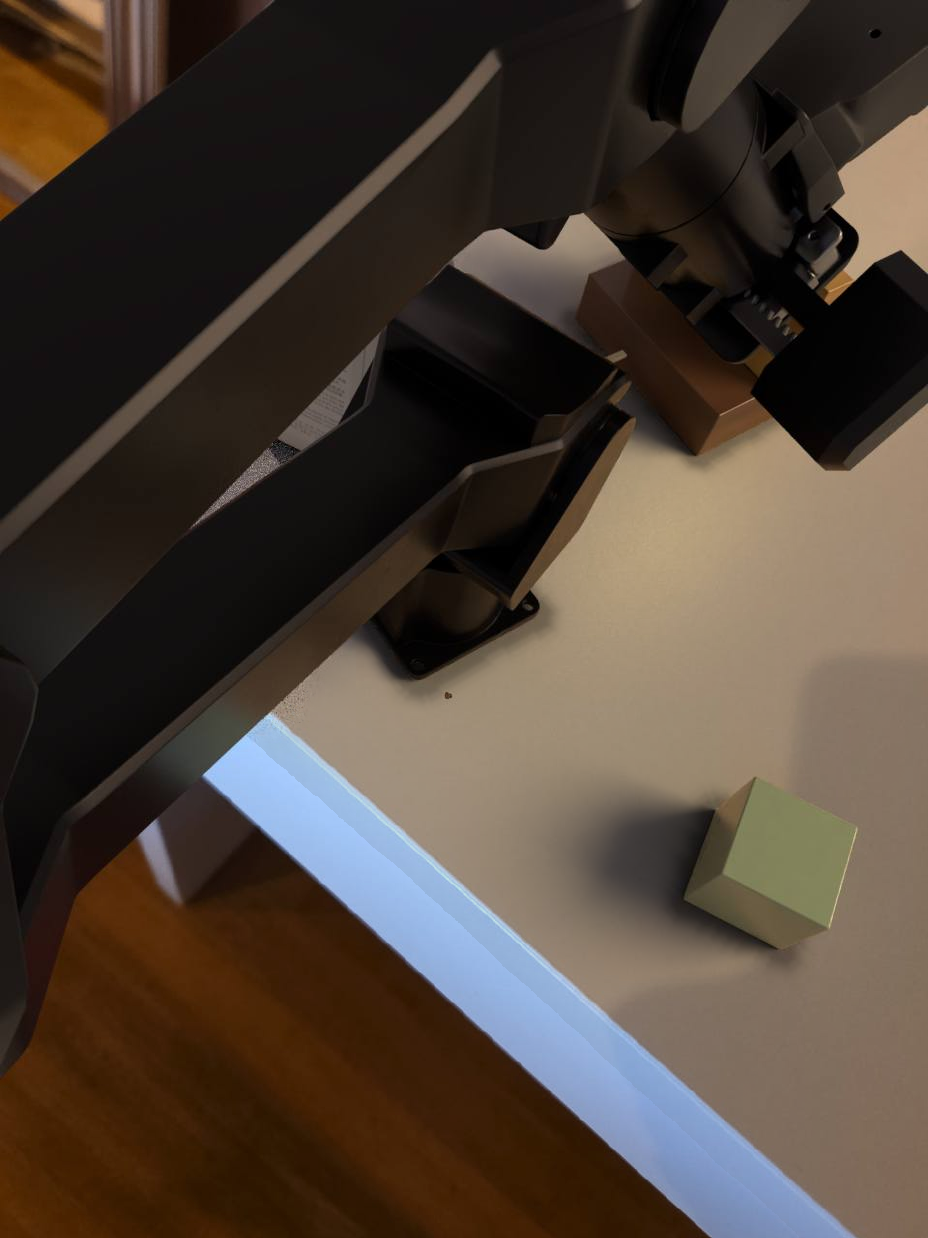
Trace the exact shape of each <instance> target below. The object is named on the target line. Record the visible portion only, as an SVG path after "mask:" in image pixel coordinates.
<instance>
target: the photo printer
mask: <svg viewBox="0 0 928 1238" xmlns="http://www.w3.org/2000/svg"><path fill="white" fill-rule="evenodd" d="M448 264H450V265H452V266H454V267H455V268H456V265H455V261H454V258H452V259H451V260H450V261H449V262H448V263H447V264H446V265H445V266H444V267H443V268H442V269H441V270H440V271H439V272H438V273H437V274H436V275H435V276H434V277H433V278H432V279H431V280H430V281H429V283H430V282H431V281H432V280H433V279H434V278H435V277H436V276H437V275H438V274H439V273H440V272H441V271H442V270H443V269H444V268H445V267H446V266H447V265H448ZM429 283H428V284H429ZM380 333H381V332H380ZM380 333H379V334H378V335H377V336H376V337H375V338H374V339H373V340H372V341H371V342H370V343H369V344H368V345H367V346H366V347H365V348H364V350H363V351H362V352H361V353H360V354H359V355H358V356H357V357H356V358H355V359H354V360H353V361H352V362H351V363H350V364H349V365H348V366H347V367H346V368H345V369H344V370H343V371H342V372H341V373H340V374H339V375H338V376H337V377H336V378H335V379H334V380H333V381H332V382H331V384H330V385H329V386H328V387H327V388H326V389H325V390H324V391H323V392H322V393H321V394H320V395H319V396H318V397H317V398H316V399H315V400H314V401H313V402H312V403H311V404H310V405H309V406H308V407H307V408H306V409H305V410H304V411H303V412H302V413H301V414H300V415H299V417H298V418H297V419H296V420H295V421H294V422H293V423H292V424H291V425H290V426H289V427H288V428H287V429H286V430H285V431H284V432H283V433H282V434H281V435H280V436H279V437H278V438H277V439H276V440H279V441H280V442H283V443H284V444H287V445H288V446H291V447H293V448H294V449H297V450H299V451H302V450H303V449H304V448H306V447H307V446H309V445H310V444H312V443H313V442H314V441H316V440H317V439H319V438H320V437H321V436H323V435H324V434H326V433H327V432H329V431H330V430H331V429H333V428H334V427H336V426H337V425H338V424H339V422H340V420H341V418H342V416H343V414H344V412H345V411H346V409H347V407H348V405H349V403H350V401H351V399H352V398H353V396H354V394H355V392H356V390H357V388H358V386H359V385H360V383H361V381H362V379H363V377H364V375H365V373H366V372H367V370H368V368H369V366H370V364H371V362H372V360H373V359H374V356H375V352H376V348H377V344H378V339H379V335H380Z"/></svg>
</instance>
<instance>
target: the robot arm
mask: <svg viewBox="0 0 928 1238" xmlns="http://www.w3.org/2000/svg"><path fill="white" fill-rule="evenodd" d="M927 107H928V0H271V1H270V2H269V3H268V4H267V5H266V6H265V7H264V8H263V9H262V10H261V11H259V12H258V13H257V14H256V15H254V16H253V17H252V18H251V19H250V20H248V21H247V22H246V23H244V24H243V25H242V26H241V27H240V28H239V29H237V30H236V31H235V32H233V33H232V34H230V36H228V37H227V38H226V39H225V40H224V41H222V42H221V43H219V44H218V45H217V46H216V47H214V48H213V49H212V50H211V51H210V52H208V53H207V54H206V55H205V56H204V57H202V58H201V59H200V60H198V62H196V63H195V64H193V65H192V66H191V67H190V68H188V69H187V70H186V71H184V72H183V73H182V74H181V75H180V76H178V77H177V78H176V79H175V80H173V81H172V82H171V83H169V84H168V85H167V86H166V87H164V89H162V90H161V91H160V92H158V93H157V94H155V96H153V97H152V98H151V99H150V100H149V101H147V102H146V103H145V104H144V105H142V106H141V107H140V108H139V109H137V110H136V111H134V113H132V114H131V115H130V116H129V117H127V118H126V119H125V120H123V121H122V122H121V123H120V124H118V126H116V127H115V128H114V129H112V130H111V131H110V132H109V133H107V134H106V135H105V136H104V137H102V138H101V139H100V140H99V141H97V142H96V143H95V144H94V145H92V146H91V147H90V148H88V149H87V150H86V151H85V152H84V153H82V154H81V155H80V156H79V157H77V158H76V159H75V160H74V161H72V162H71V163H70V164H69V165H67V166H66V167H65V168H64V169H62V170H61V171H60V172H59V173H58V174H57V175H55V176H54V177H52V178H51V179H50V180H48V182H46V183H45V184H44V185H43V186H41V187H40V188H39V189H37V190H36V191H35V192H34V193H32V194H31V195H30V196H29V197H28V198H26V199H25V200H24V201H23V202H21V203H20V204H19V205H17V206H16V207H15V208H14V209H13V210H11V211H10V212H9V213H8V214H6V215H5V216H4V217H2V218H1V219H0V1080H1V1079H2V1078H3V1077H4V1076H5V1075H6V1074H7V1072H8V1071H10V1069H12V1067H13V1066H14V1065H15V1064H16V1063H17V1061H18V1060H20V1058H21V1057H22V1056H23V1054H24V1053H25V1052H26V1051H27V1049H28V1048H29V1046H30V1044H31V1041H32V1039H33V1037H34V1034H35V1030H36V1028H37V1024H38V1020H39V1018H40V1015H41V1012H42V1007H43V1004H44V1001H45V998H46V994H47V991H48V988H49V985H50V983H51V979H52V975H53V972H54V969H55V965H56V962H57V958H58V956H59V952H60V949H61V946H62V941H63V939H64V936H65V932H66V929H67V926H68V923H69V919H70V916H71V913H72V909H73V906H74V903H75V900H76V899H77V896H78V895H79V894H80V892H81V891H82V890H84V889H85V887H86V886H87V885H88V884H89V883H90V882H91V881H93V879H94V878H95V877H96V876H97V875H98V874H99V873H100V872H102V870H103V869H104V868H106V867H107V866H108V865H109V863H111V862H112V861H113V860H114V859H115V858H116V857H117V856H119V854H120V853H122V851H124V849H126V848H127V847H128V846H129V845H130V844H131V843H132V842H133V841H134V840H135V839H136V838H138V836H140V835H141V834H142V833H143V832H144V831H145V830H146V829H147V828H148V827H149V826H150V825H151V824H152V823H153V822H154V821H156V819H158V818H159V817H160V816H161V815H162V814H163V813H164V812H165V811H167V809H169V808H170V807H171V805H173V804H174V803H175V802H176V801H177V800H178V799H179V798H180V797H181V796H182V795H183V794H184V793H186V791H188V790H189V788H191V787H192V786H193V785H194V784H195V783H196V782H197V781H198V780H200V779H201V778H202V776H204V775H205V774H206V773H207V772H208V771H209V770H210V769H211V768H212V767H213V766H214V765H215V764H216V763H217V762H218V761H220V760H221V759H222V758H223V757H224V756H225V755H226V754H228V753H229V751H230V750H231V749H232V748H233V747H235V746H236V744H238V743H239V742H240V741H241V740H242V739H244V737H245V736H246V735H248V733H250V731H252V730H253V729H254V728H255V727H256V726H258V724H259V723H260V722H261V721H262V720H264V719H265V718H266V717H267V716H268V715H269V714H270V713H271V712H272V711H273V710H274V709H275V708H276V707H277V706H278V705H280V703H281V702H283V701H284V700H285V699H286V698H288V696H289V695H290V694H292V693H293V691H295V689H296V688H297V687H299V686H300V685H301V684H302V683H303V682H305V680H306V679H307V678H308V677H310V675H312V674H313V672H314V671H316V669H318V668H319V667H320V666H321V665H322V664H323V663H324V662H325V661H327V660H328V659H329V657H331V656H332V655H333V654H334V653H335V652H336V651H337V650H339V648H340V647H341V646H342V645H344V643H346V642H347V641H348V640H349V639H350V638H351V637H352V636H353V635H354V634H356V633H357V631H358V630H359V629H360V628H361V627H362V626H364V625H365V624H366V623H367V622H368V621H370V622H371V623H372V624H373V626H374V628H375V629H376V631H377V632H378V634H379V635H380V636H381V638H382V639H383V641H384V642H385V644H386V646H387V647H388V649H389V650H390V651H391V653H392V655H394V658H396V660H397V661H398V663H399V665H400V666H401V667H402V669H403V671H404V672H405V673H406V675H407V676H408V677H409V678H410V679H412V680H416V681H422V680H424V679H426V678H427V677H430V676H432V675H434V674H435V673H437V672H439V671H441V670H442V669H444V668H446V667H449V666H450V665H452V664H454V663H455V662H457V661H459V660H461V659H463V658H464V657H466V656H468V655H470V654H471V653H474V652H475V651H477V650H479V649H481V648H483V647H484V646H486V645H488V644H490V643H492V642H494V641H496V640H497V639H499V638H501V637H503V636H505V635H506V634H508V633H510V632H512V631H514V630H515V629H517V628H519V627H521V626H522V625H524V624H526V623H529V621H532V620H533V619H535V618H536V617H537V615H538V614H539V612H540V609H541V604H540V601H539V599H538V598H537V596H536V595H535V594H534V593H533V591H532V590H531V589H532V588H533V587H534V586H535V584H536V583H537V582H538V581H539V579H540V578H541V577H542V576H543V575H544V574H545V572H546V571H547V570H548V568H549V567H550V566H551V565H552V564H553V562H554V561H556V559H557V558H558V556H559V555H560V554H561V553H562V552H563V550H564V549H565V548H566V547H567V546H568V544H569V543H570V542H571V541H572V539H574V537H575V536H576V535H577V534H578V532H579V531H580V529H581V528H582V526H583V524H584V522H585V520H586V519H587V517H588V515H589V513H590V511H591V509H592V507H593V505H594V504H595V503H596V500H597V498H598V497H599V495H600V493H601V491H602V489H603V487H604V486H605V484H606V482H607V480H608V478H609V477H610V475H611V473H612V471H613V469H614V468H615V466H616V464H617V462H618V460H619V458H620V456H621V454H622V452H623V451H624V449H625V447H626V446H627V444H628V442H629V439H630V438H631V436H632V434H633V431H634V429H635V425H636V423H637V417H635V416H634V415H632V414H630V413H629V412H627V411H626V410H624V409H622V408H620V407H618V406H616V404H617V403H619V401H621V399H622V398H624V396H625V395H626V393H627V392H628V390H629V388H630V387H631V385H632V384H633V383H632V380H631V375H630V373H629V372H628V371H626V370H625V369H623V368H621V367H620V366H618V365H617V364H615V363H613V362H612V361H610V360H608V359H607V358H605V357H606V356H604V355H602V354H601V353H599V352H597V351H595V349H592V348H591V347H589V346H587V345H586V344H585V343H582V342H581V341H579V340H578V339H577V338H574V336H572V335H570V334H568V333H567V332H565V331H563V330H562V329H560V328H559V327H557V326H555V325H554V324H552V323H550V322H549V321H547V320H546V319H544V318H543V317H541V316H540V315H538V314H536V313H534V312H533V311H531V310H529V309H528V308H527V307H524V306H523V305H521V304H519V303H518V302H517V301H515V300H513V299H511V298H510V297H509V296H507V295H505V294H504V293H502V292H500V291H499V290H498V289H496V288H494V287H492V286H490V285H489V284H487V283H486V282H484V281H483V280H481V279H480V278H478V277H476V276H474V275H473V274H472V273H469V272H464V271H462V270H461V269H458V268H457V267H456V266H455V265H454V266H455V267H454V266H452V265H450V264H448V265H447V266H446V267H445V268H444V269H443V270H442V271H441V272H440V273H439V274H438V275H437V276H436V277H435V278H434V279H433V280H432V281H431V282H430V283H429V281H430V280H431V279H432V278H433V277H434V276H435V275H436V274H437V273H438V272H439V271H440V270H441V269H442V268H443V267H444V266H445V265H446V264H447V263H448V262H449V261H450V260H451V259H452V258H453V259H454V258H455V257H456V256H457V255H458V254H460V253H461V252H462V251H464V250H465V249H466V248H467V247H469V245H471V244H472V243H473V242H474V241H475V240H477V239H478V238H479V237H481V236H482V235H483V234H484V233H487V232H489V231H496V230H500V229H501V230H503V231H506V232H507V233H509V234H510V235H513V236H514V237H516V238H518V239H519V240H521V241H523V242H524V243H526V244H528V245H529V246H531V247H533V248H535V249H537V250H540V251H546V250H548V249H549V248H551V247H552V246H553V245H554V244H555V242H556V241H557V240H558V237H559V236H560V234H561V232H562V231H563V229H564V227H565V226H566V224H567V222H568V220H569V219H570V217H571V216H577V215H581V214H584V215H585V216H586V217H587V218H588V220H590V222H592V223H593V224H594V226H595V227H597V229H599V231H600V232H601V233H603V234H604V236H605V237H606V238H607V239H608V240H609V241H610V242H611V243H612V244H613V245H614V247H616V248H617V250H618V252H619V253H620V254H621V255H622V256H623V257H624V259H627V260H628V262H629V263H630V264H631V265H632V266H633V267H634V268H635V269H636V270H637V271H638V272H639V273H640V274H641V275H642V276H643V277H644V278H645V279H646V280H647V281H648V282H649V283H650V284H651V285H652V287H653V288H654V289H655V290H656V291H658V292H661V293H664V294H665V296H666V297H667V298H668V299H669V300H670V301H671V302H672V303H673V304H674V305H675V306H676V307H677V308H678V309H679V310H680V311H681V312H682V313H683V314H684V317H683V319H684V320H685V321H686V322H687V323H688V324H689V325H690V326H691V327H692V328H693V329H694V330H695V331H696V332H697V333H698V334H699V336H700V337H701V338H702V339H703V340H704V341H705V342H706V343H707V344H708V345H709V346H710V347H711V348H712V349H713V350H714V351H715V352H716V353H717V354H718V355H719V356H720V357H721V358H722V359H723V360H724V361H726V362H728V363H732V364H741V363H744V362H746V361H748V360H750V359H751V358H752V357H753V356H754V355H755V354H756V353H757V352H758V351H759V350H760V349H761V348H762V347H764V348H765V349H766V350H767V351H768V352H769V353H770V354H771V355H772V356H773V357H774V358H773V359H772V360H771V361H770V362H769V363H768V364H767V365H766V366H765V367H764V369H763V370H762V372H761V374H760V376H759V377H758V379H757V381H756V383H755V384H754V386H753V388H752V390H751V391H750V394H751V395H752V396H753V397H754V398H755V399H756V400H757V401H758V402H759V403H760V404H761V405H762V406H763V407H764V408H765V409H766V411H767V412H768V413H769V414H770V415H771V416H772V418H773V419H774V420H775V422H777V423H778V424H779V425H780V426H781V428H783V429H784V430H785V432H786V433H787V434H788V435H789V436H790V437H791V438H792V439H793V440H794V441H795V442H796V443H797V444H798V446H800V447H801V449H803V450H804V451H805V452H806V453H807V455H808V456H809V457H810V458H811V459H812V460H813V461H814V462H815V463H816V464H817V465H819V466H820V467H821V468H822V469H823V470H824V471H826V472H845V471H846V472H851V471H852V470H853V469H854V468H855V467H856V466H857V465H858V464H860V462H862V461H863V460H865V458H867V456H868V455H870V454H871V453H872V452H874V451H875V450H876V449H877V448H878V447H879V446H880V445H882V443H884V442H885V441H886V440H887V439H888V438H890V437H891V436H892V435H893V434H894V433H896V431H898V430H899V429H900V428H901V427H902V426H903V425H905V424H906V423H907V422H908V421H909V420H910V419H911V418H913V417H914V416H916V414H917V413H919V412H920V411H921V410H922V409H924V407H926V405H928V272H926V271H925V270H924V269H923V268H922V267H921V266H920V265H919V264H917V262H916V261H914V259H912V257H910V256H909V255H908V254H906V253H905V252H904V251H903V250H902V249H899V250H897V251H895V252H893V253H891V254H890V255H887V256H885V257H883V258H880V259H879V260H876V261H874V262H873V263H871V265H870V266H869V267H868V268H867V269H866V270H865V271H863V272H862V274H860V275H859V276H858V277H857V278H856V279H855V280H854V282H853V283H852V284H851V285H850V286H849V287H848V288H847V289H846V290H845V291H844V292H843V293H842V294H841V295H839V296H838V297H837V298H836V299H835V300H834V301H833V302H832V303H831V304H830V305H829V304H828V303H827V302H825V301H824V300H823V299H822V298H821V297H820V296H819V295H818V293H819V292H821V291H822V290H823V289H824V288H825V287H826V286H827V285H828V284H829V283H830V282H831V281H832V280H833V279H834V278H835V277H836V276H837V275H838V274H839V273H840V272H841V271H842V270H844V269H846V267H847V266H848V265H849V264H850V263H851V261H852V258H853V257H854V255H855V254H856V252H857V250H858V248H859V245H860V236H859V232H858V231H857V229H856V228H855V227H854V226H853V225H852V224H851V223H849V221H847V220H846V219H845V218H844V217H843V216H842V215H841V214H840V213H839V212H837V210H835V209H834V208H833V206H834V205H836V203H838V201H839V200H840V199H841V198H842V197H843V196H844V195H845V194H846V192H845V188H844V186H843V183H842V181H841V177H840V175H839V172H840V171H841V170H842V169H844V168H845V166H846V165H847V164H848V163H851V162H852V161H854V160H855V159H856V158H858V157H860V156H861V155H862V154H863V153H864V152H866V151H867V150H869V149H870V148H871V147H872V146H874V145H875V144H876V143H877V142H879V141H880V140H881V139H883V138H884V137H885V136H887V135H888V134H890V133H891V132H892V131H893V130H895V129H896V128H897V127H898V126H900V125H901V124H902V123H903V122H905V121H906V120H908V119H909V118H910V117H912V116H917V115H919V114H920V113H921V112H922V111H924V110H925V109H926V108H927ZM428 283H429V284H428ZM791 319H792V320H793V321H794V322H795V323H796V324H798V325H799V326H800V327H801V328H802V329H803V331H802V332H801V333H799V334H798V335H797V334H796V333H795V332H792V333H790V334H788V335H786V334H787V333H788V331H789V329H790V328H789V326H788V325H787V323H788V322H789V321H790V320H791ZM380 332H381V333H380ZM379 333H380V335H379V339H378V344H377V348H376V352H375V356H374V359H373V360H372V362H371V364H370V366H369V368H368V370H367V372H366V373H365V375H364V377H363V379H362V381H361V383H360V385H359V386H358V388H357V390H356V392H355V394H354V396H353V398H352V399H351V401H350V403H349V405H348V407H347V409H346V411H345V412H344V414H343V416H342V418H341V420H340V422H339V424H338V425H337V426H336V427H334V428H333V429H331V430H330V431H329V432H327V433H326V434H324V435H323V436H321V437H320V438H319V439H317V440H316V441H314V442H313V443H312V444H310V445H309V446H307V447H306V448H304V449H303V450H302V451H301V450H299V452H297V453H295V455H293V456H292V457H290V458H289V459H287V460H286V461H284V462H283V463H282V464H280V465H279V466H276V468H274V469H273V470H271V471H270V472H269V473H267V474H265V475H264V476H263V477H262V478H261V479H259V480H257V481H256V482H254V483H253V484H251V485H250V486H249V487H247V488H246V489H245V490H243V491H242V492H240V493H238V494H237V495H236V496H234V497H232V498H231V499H230V500H229V501H227V502H226V503H225V504H223V505H222V506H220V507H219V508H217V509H216V510H215V511H213V512H212V513H210V514H209V515H207V516H206V517H205V518H203V519H202V520H200V519H201V518H202V517H203V515H205V514H206V513H207V512H208V511H209V509H210V508H212V506H213V505H215V503H216V502H217V501H218V500H219V499H220V498H221V497H222V496H223V495H225V493H226V492H227V491H228V490H229V489H230V488H231V487H232V486H233V485H234V484H235V483H236V482H237V481H238V480H239V478H240V477H242V475H243V474H244V473H245V472H246V471H247V470H249V468H251V466H252V465H254V463H255V462H256V461H257V460H258V459H259V458H260V457H261V456H262V455H263V454H264V453H265V452H266V451H267V450H268V449H269V448H270V447H271V446H272V444H273V443H274V442H275V441H277V440H278V439H277V438H278V437H279V436H280V435H281V434H282V433H283V432H284V431H285V430H286V429H287V428H288V427H289V426H290V425H291V424H292V423H293V422H294V421H295V420H296V419H297V418H298V417H299V415H300V414H301V413H302V412H303V411H304V410H305V409H306V408H307V407H308V406H309V405H310V404H311V403H312V402H313V401H314V400H315V399H316V398H317V397H318V396H319V395H320V394H321V393H322V392H323V391H324V390H325V389H326V388H327V387H328V386H329V385H330V384H331V382H332V381H333V380H334V379H335V378H336V377H337V376H338V375H339V374H340V373H341V372H342V371H343V370H344V369H345V368H346V367H347V366H348V365H349V364H350V363H351V362H352V361H353V360H354V359H355V358H356V357H357V356H358V355H359V354H360V353H361V352H362V351H363V350H364V348H365V347H366V346H367V345H368V344H369V343H370V342H371V341H372V340H373V339H374V338H375V337H376V336H377V335H378V334H379ZM199 520H200V521H199ZM198 521H199V522H198ZM524 605H525V606H526V605H528V606H530V607H531V609H530V610H529V609H526V608H525V607H524ZM415 664H421V666H423V668H422V669H416V668H415V667H414V665H415Z"/></svg>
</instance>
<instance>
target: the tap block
mask: <svg viewBox="0 0 928 1238" xmlns="http://www.w3.org/2000/svg"><path fill="white" fill-rule="evenodd" d="M683 317H684V314H683V313H682V312H681V311H680V310H679V309H678V308H677V307H676V306H675V305H674V304H673V303H672V302H671V301H670V300H669V299H668V298H667V297H666V296H665V294H664V293H661V292H658V291H656V290H655V289H654V288H653V287H652V285H651V284H650V283H649V282H648V281H647V280H646V279H645V278H644V277H643V276H642V275H641V274H640V273H639V272H638V271H637V270H636V269H635V268H634V267H633V266H632V265H631V264H630V263H629V262H628V260H627V259H626V258H624V259H623V260H620V261H617V262H615V263H612V264H610V265H607V266H605V267H602V268H600V269H598V270H597V269H596V270H595V271H592V272H590V273H589V274H588V276H587V279H586V282H585V285H584V288H583V292H582V294H581V298H580V302H579V304H578V307H577V311H576V314H575V320H576V322H577V323H578V324H579V325H580V326H581V328H583V330H584V331H585V332H586V334H588V335H589V336H590V337H591V338H592V339H593V340H594V342H595V343H596V344H597V345H598V346H599V347H600V348H601V350H602V351H603V352H604V353H605V354H606V355H607V356H604V357H605V358H607V359H608V360H610V361H612V362H613V363H615V364H617V365H618V366H620V367H621V368H623V369H625V370H626V371H628V372H629V373H630V375H631V380H632V383H631V384H632V385H633V386H634V387H635V388H636V390H638V391H639V392H640V394H641V395H642V396H643V397H644V398H645V399H646V401H647V402H648V403H649V404H650V405H651V406H652V407H653V408H654V409H655V411H656V412H657V413H658V414H659V415H660V416H661V417H662V418H663V420H664V421H665V422H666V423H667V424H668V425H669V426H670V427H671V429H672V430H673V431H674V432H675V433H676V434H677V436H679V437H680V439H681V440H682V441H683V442H684V443H685V444H686V445H687V447H688V448H689V449H690V450H691V451H692V453H694V454H695V456H697V457H698V456H700V455H702V454H704V453H706V452H708V451H710V450H712V449H714V448H716V447H717V446H719V445H722V444H723V443H727V442H728V441H730V440H732V439H733V438H736V437H737V436H739V435H741V434H744V433H745V432H747V431H749V430H751V429H752V428H755V427H756V426H758V425H761V424H762V423H765V422H766V421H768V420H770V419H772V418H773V417H772V416H771V415H770V414H769V413H768V412H767V411H766V409H765V408H764V407H763V406H762V405H761V404H760V403H759V402H758V401H757V400H756V399H755V398H754V397H753V396H752V395H751V394H750V391H751V390H752V388H753V386H754V384H755V383H756V381H757V379H758V377H757V376H756V375H755V374H754V373H753V372H752V370H751V369H750V368H749V367H748V366H747V365H746V364H745V363H741V364H732V363H728V362H726V361H724V360H723V359H722V358H721V357H720V356H719V355H718V354H717V353H716V352H715V351H714V350H713V349H712V348H711V347H710V346H709V345H708V344H707V343H706V342H705V341H704V340H703V339H702V338H701V337H700V336H699V334H698V333H697V332H696V331H695V330H694V329H693V328H692V327H691V326H690V325H689V324H688V323H687V322H686V321H685V320H684V319H683Z"/></svg>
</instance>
